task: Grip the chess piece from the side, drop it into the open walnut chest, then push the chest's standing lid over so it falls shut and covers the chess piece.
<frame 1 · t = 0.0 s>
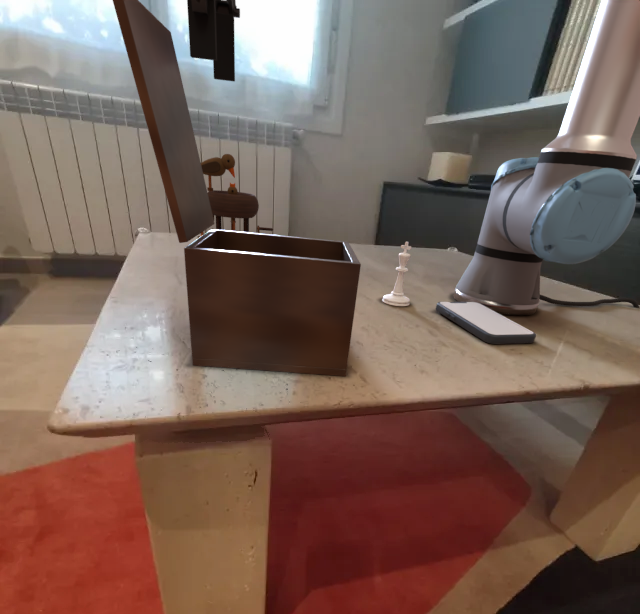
hand: (215, 70, 51), 28 cm above the table, tool pointing down, fingers open, 13 cm apart
bird figurine: (234, 276, 81), on the table
lid: (174, 134, 40), point 21 cm above the table, hinge at 102.0°
chess piece: (395, 303, 75), on the table
chest: (274, 347, 51), on the table
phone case: (480, 327, 67), on the table
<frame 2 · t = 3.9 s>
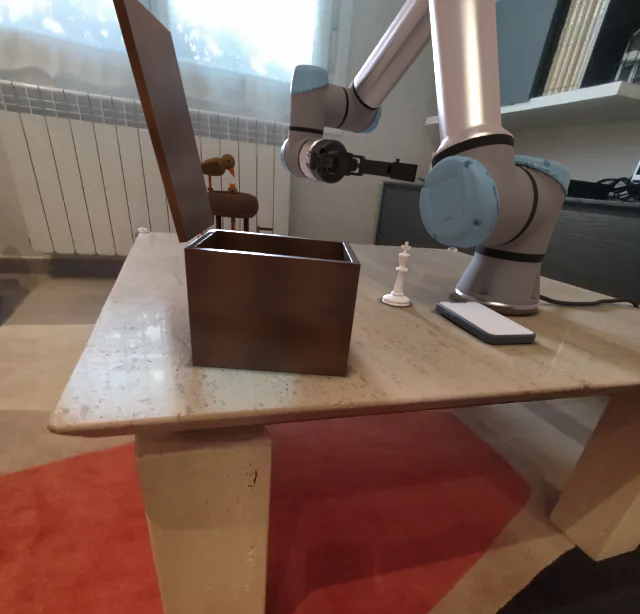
hand: (383, 169, 72), 20 cm above the table, tool horizontal, fingers open, 13 cm apart
nothing on the table moved.
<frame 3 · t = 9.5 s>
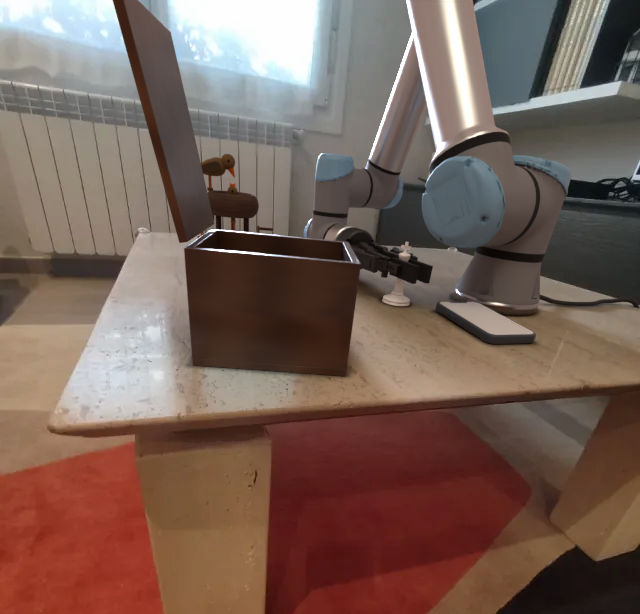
hand: (422, 274, 68), 6 cm above the table, tool horizontal, fingers closed on chess piece, 2 cm apart
chess piece: (395, 303, 75), on the table, touching gripper
everything else where it was.
when the fingers open (15 cm above the table, at t = 18.0 s): chess piece drops 7 cm, resting on chest.
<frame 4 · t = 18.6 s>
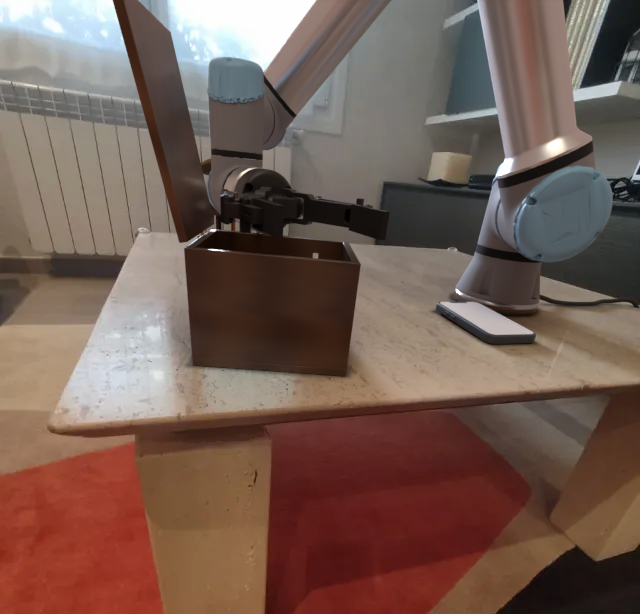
hand: (335, 224, 41), 15 cm above the table, tool horizontal, fingers open, 11 cm apart
chess piece: (309, 343, 51), point 1 cm above the table, touching chest
everything else where it was.
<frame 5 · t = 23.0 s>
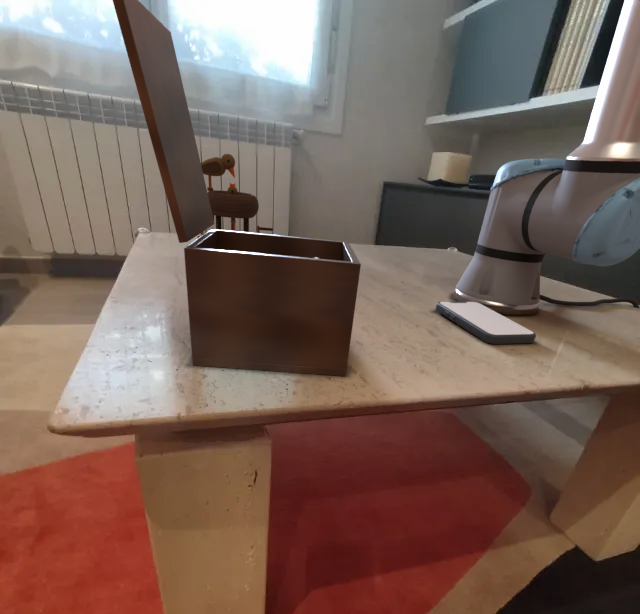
nothing on the table moved.
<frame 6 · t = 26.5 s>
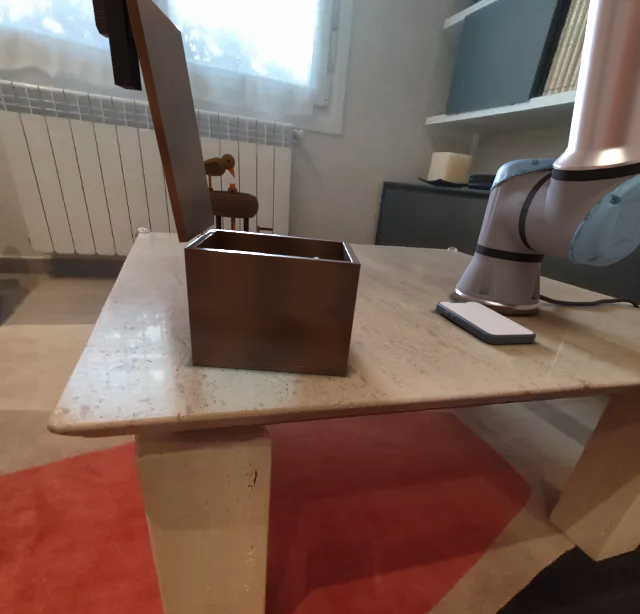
hand: (128, 87, 38), 24 cm above the table, tool pointing down, fingers closed
lid: (180, 133, 40), point 21 cm above the table, hinge at 98.6°, touching gripper
everything else where it was.
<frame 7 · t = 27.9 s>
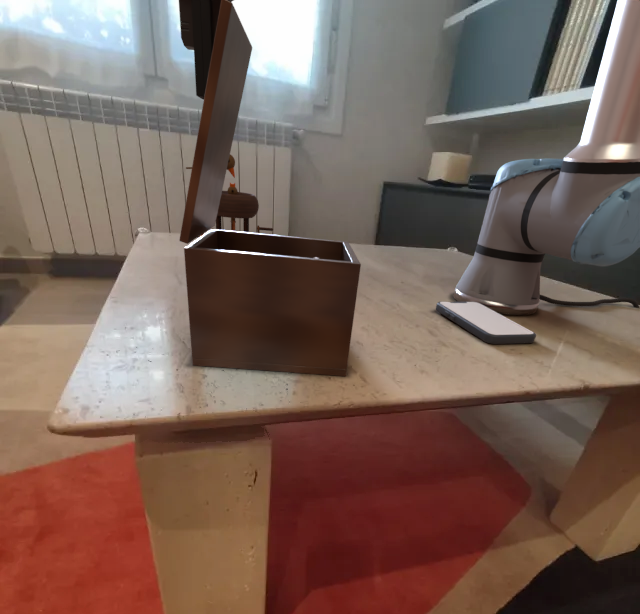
hand: (207, 98, 39), 24 cm above the table, tool pointing down, fingers closed
lid: (217, 140, 40), point 21 cm above the table, hinge at 75.2°
everything else where it was.
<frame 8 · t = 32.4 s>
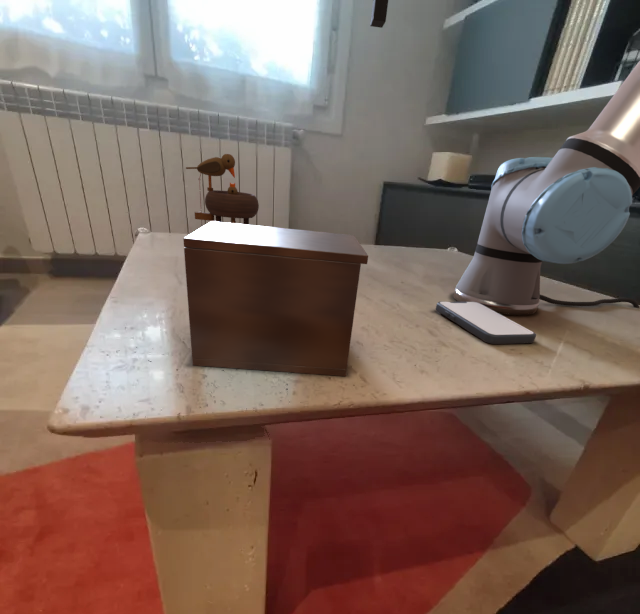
hand: (377, 23, 50), 34 cm above the table, tool pointing down, fingers closed
lid: (280, 240, 45), point 12 cm above the table, hinge at -0.1°
everything else where it was.
at the end: chess piece inside the target area in the chest (4.3 cm from its centre), point 0.6 cm above the chest's base; lid at +0° (first picture: +102°) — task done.
